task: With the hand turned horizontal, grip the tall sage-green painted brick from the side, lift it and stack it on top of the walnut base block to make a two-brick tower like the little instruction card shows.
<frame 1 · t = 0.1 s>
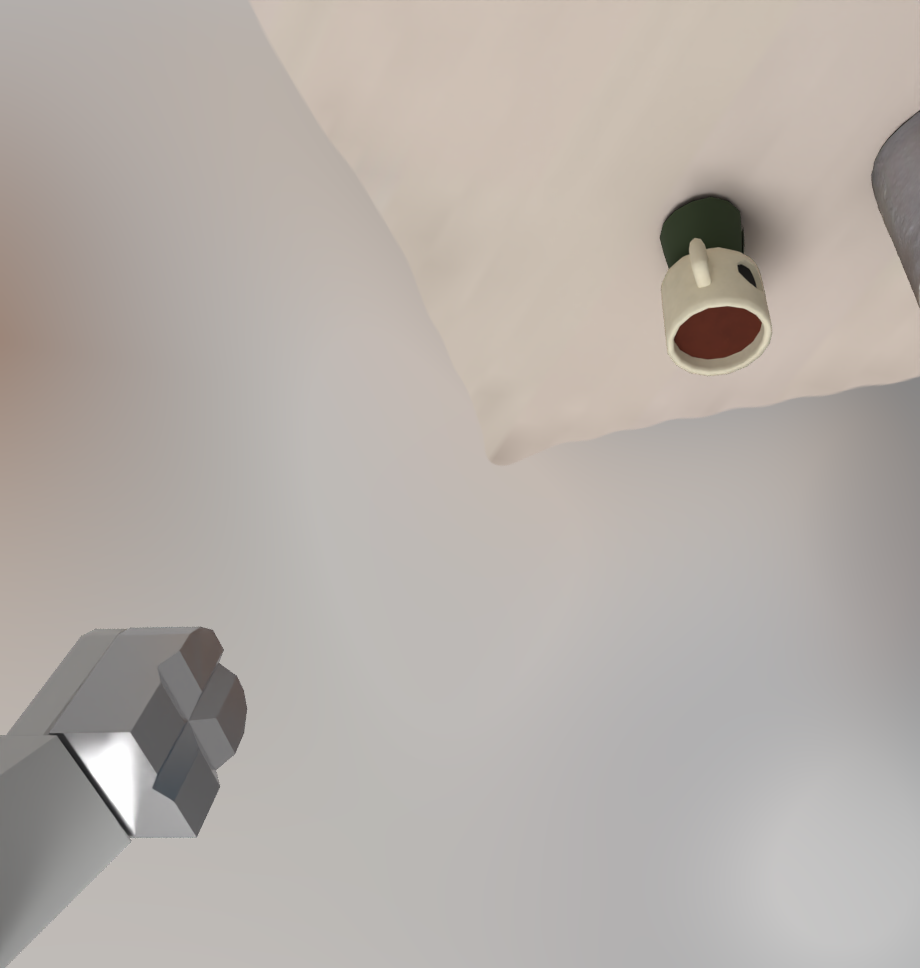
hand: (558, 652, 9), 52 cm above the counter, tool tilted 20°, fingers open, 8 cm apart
character mug: (700, 225, 64), on the counter
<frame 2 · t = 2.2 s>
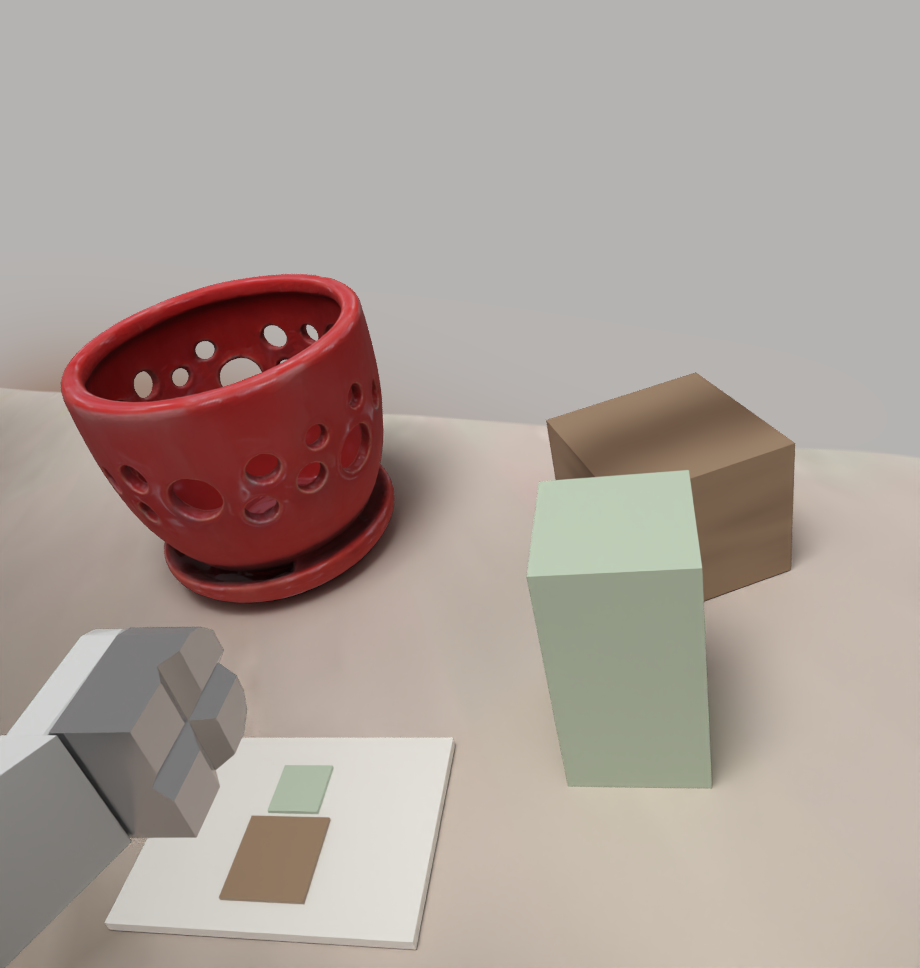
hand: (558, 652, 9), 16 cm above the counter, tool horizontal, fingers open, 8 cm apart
plant pot: (295, 547, 41), on the counter
sage brick: (636, 730, 28), on the counter
instruction card: (293, 831, 27), on the counter
walnut base: (669, 549, 35), on the counter
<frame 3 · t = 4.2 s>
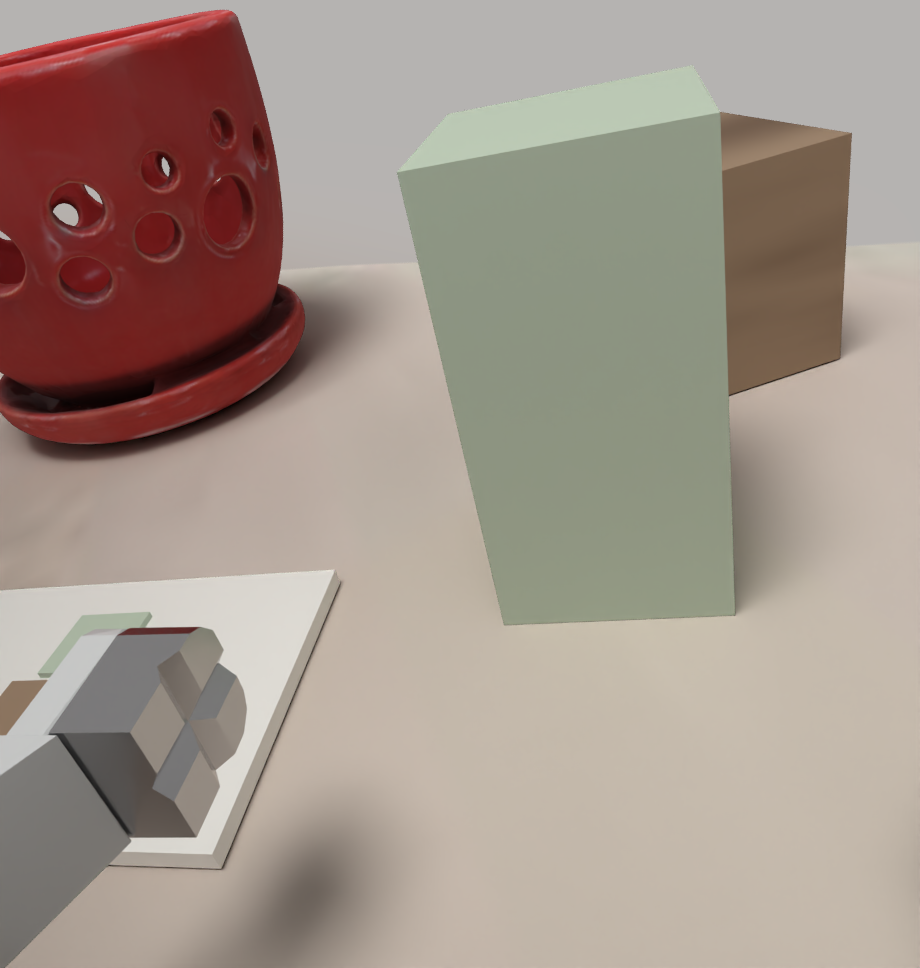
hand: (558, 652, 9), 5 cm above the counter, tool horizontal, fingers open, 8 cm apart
plant pot: (177, 393, 31), on the counter
sage brick: (615, 549, 18), on the counter
instruction card: (74, 704, 17), on the counter
walnut base: (666, 352, 25), on the counter
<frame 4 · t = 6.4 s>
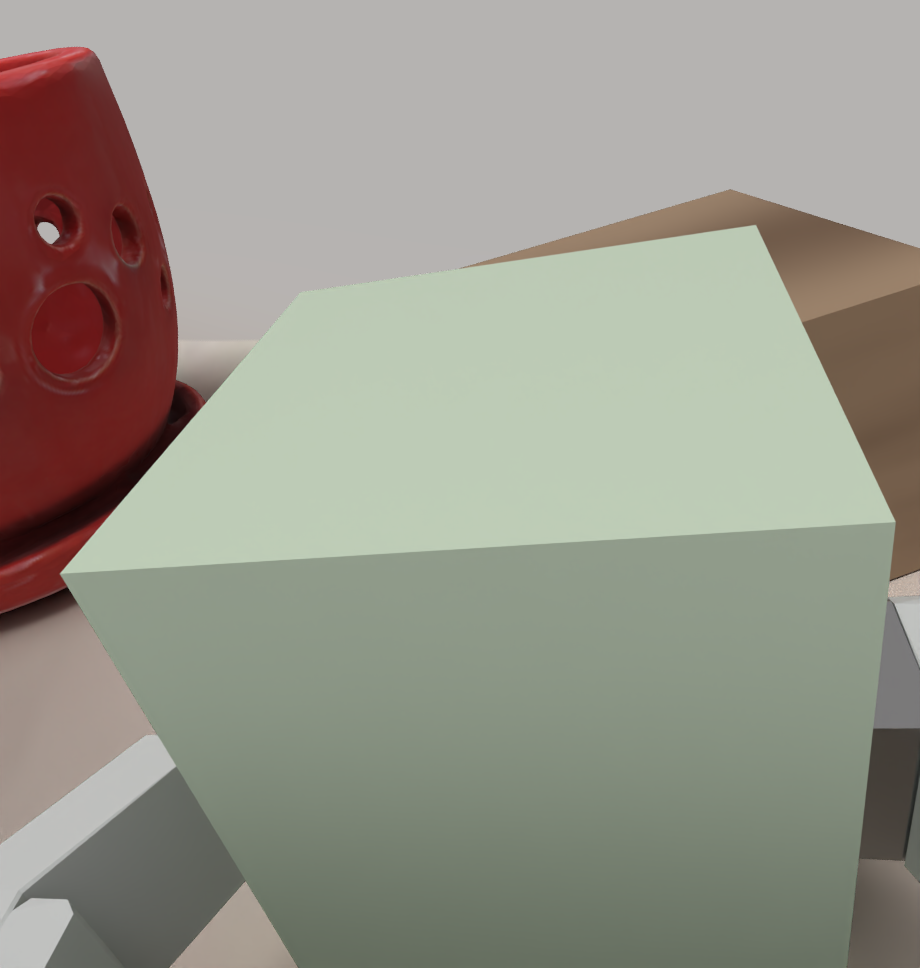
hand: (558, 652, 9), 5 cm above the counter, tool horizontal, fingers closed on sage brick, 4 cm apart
plant pot: (49, 532, 24), on the counter
sage brick: (605, 967, 11), on the counter, touching gripper
walnut base: (681, 527, 18), on the counter
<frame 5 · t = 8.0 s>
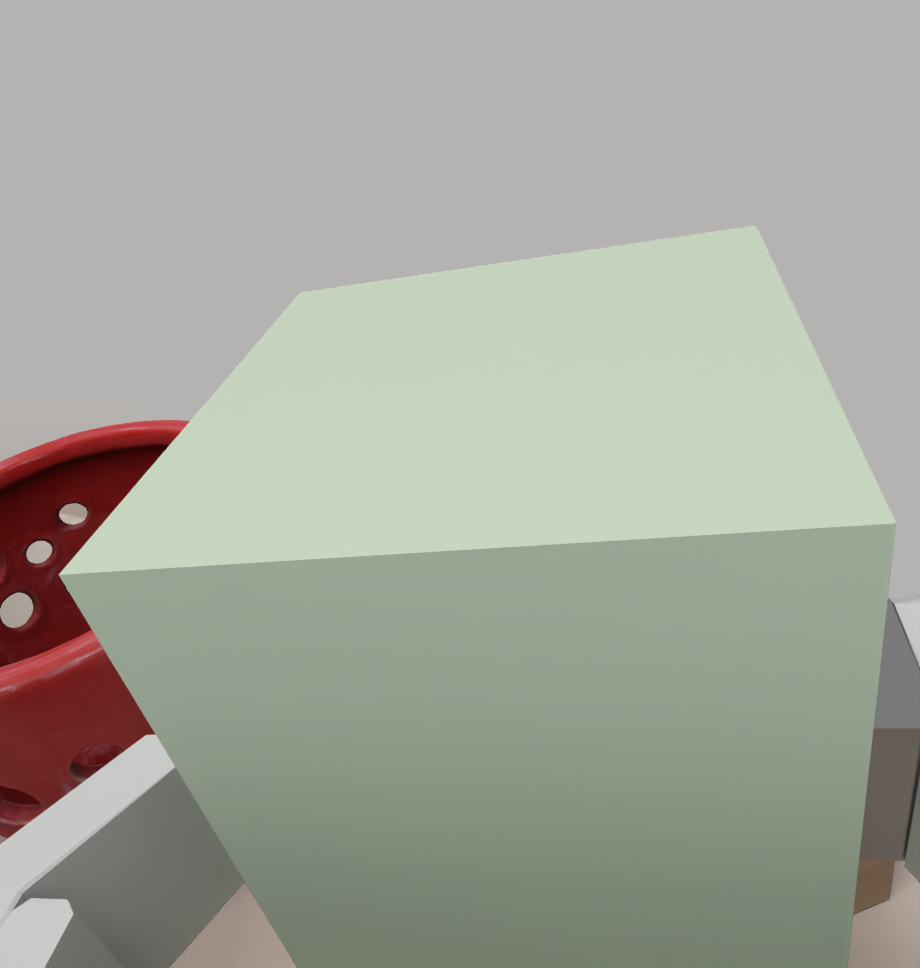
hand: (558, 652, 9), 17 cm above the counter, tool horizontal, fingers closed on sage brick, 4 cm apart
plant pot: (194, 779, 31), on the counter
walnut base: (704, 837, 24), on the counter
when the fingers open (12 cm above the counter, at t = 10.0 s): sage brick drops 1 cm, resting on walnut base.
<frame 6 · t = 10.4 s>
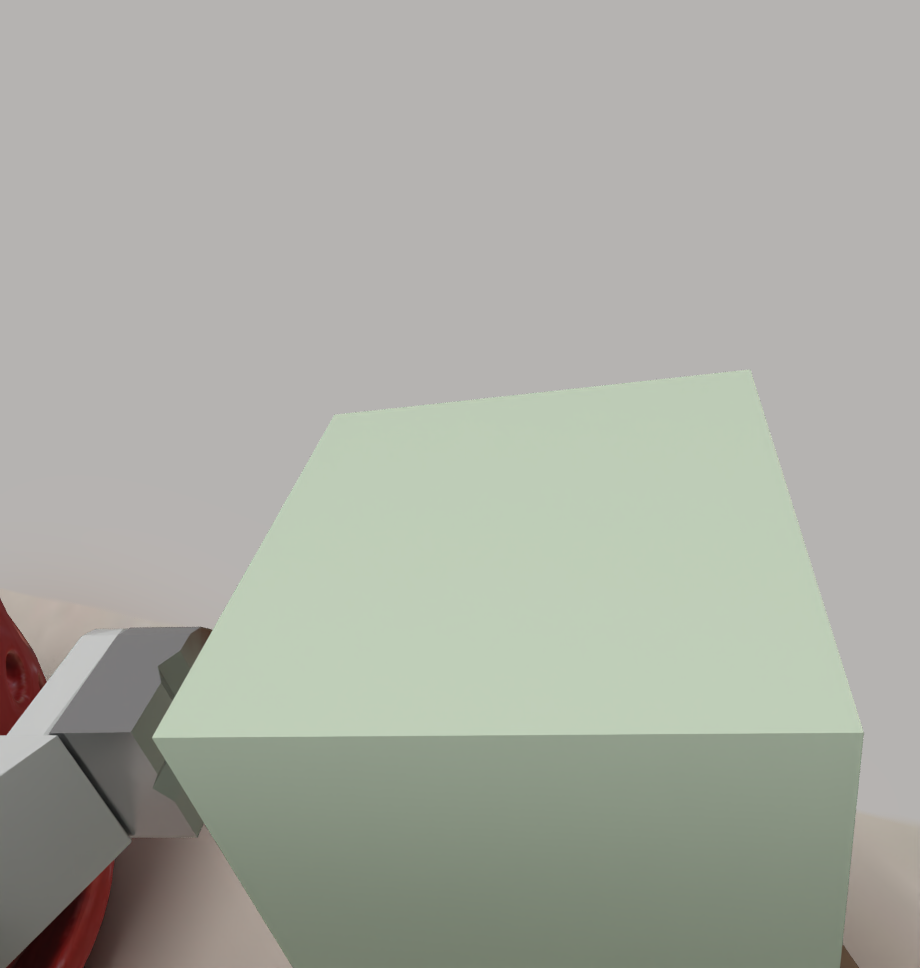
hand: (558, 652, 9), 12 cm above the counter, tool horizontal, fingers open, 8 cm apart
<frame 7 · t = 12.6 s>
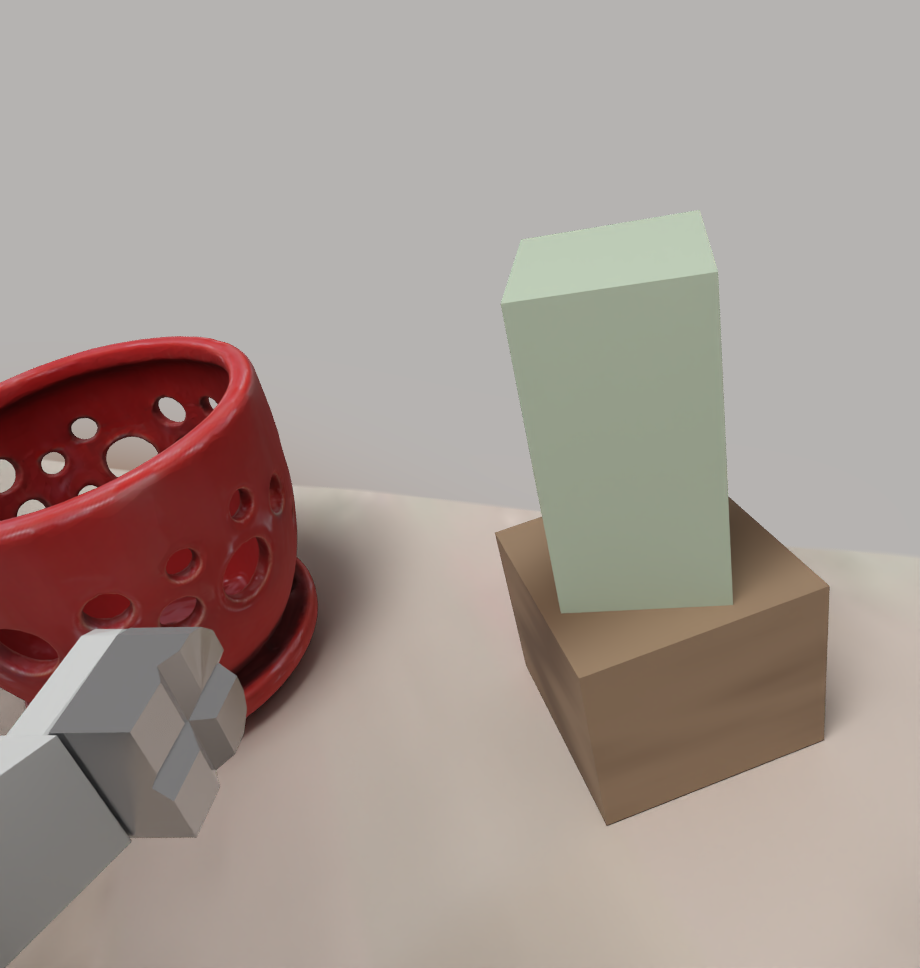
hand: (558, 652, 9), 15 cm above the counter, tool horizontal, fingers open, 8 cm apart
plant pot: (196, 673, 33), on the counter
sage brick: (642, 556, 23), point 6 cm above the counter, touching walnut base
walnut base: (660, 699, 27), on the counter
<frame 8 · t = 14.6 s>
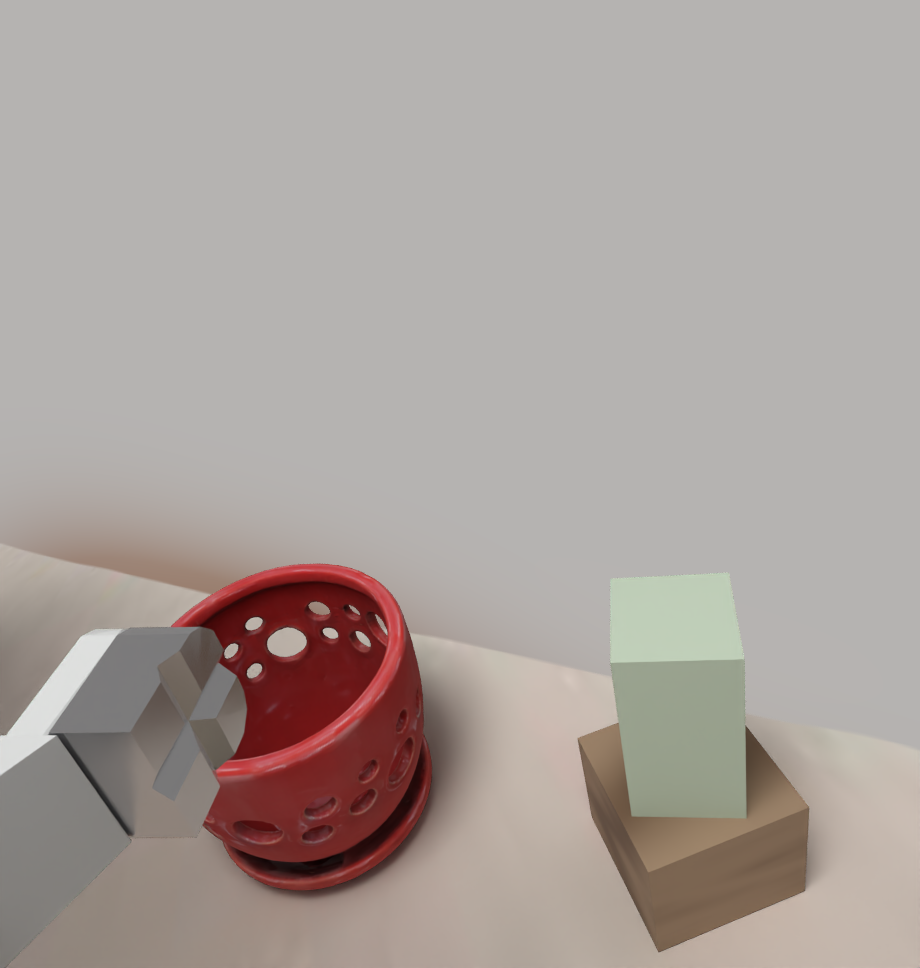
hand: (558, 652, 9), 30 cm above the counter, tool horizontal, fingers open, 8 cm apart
plant pot: (338, 808, 44), on the counter
sage brick: (684, 770, 35), point 6 cm above the counter, touching walnut base
walnut base: (691, 851, 38), on the counter
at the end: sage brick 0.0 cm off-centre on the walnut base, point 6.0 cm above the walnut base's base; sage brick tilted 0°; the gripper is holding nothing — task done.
